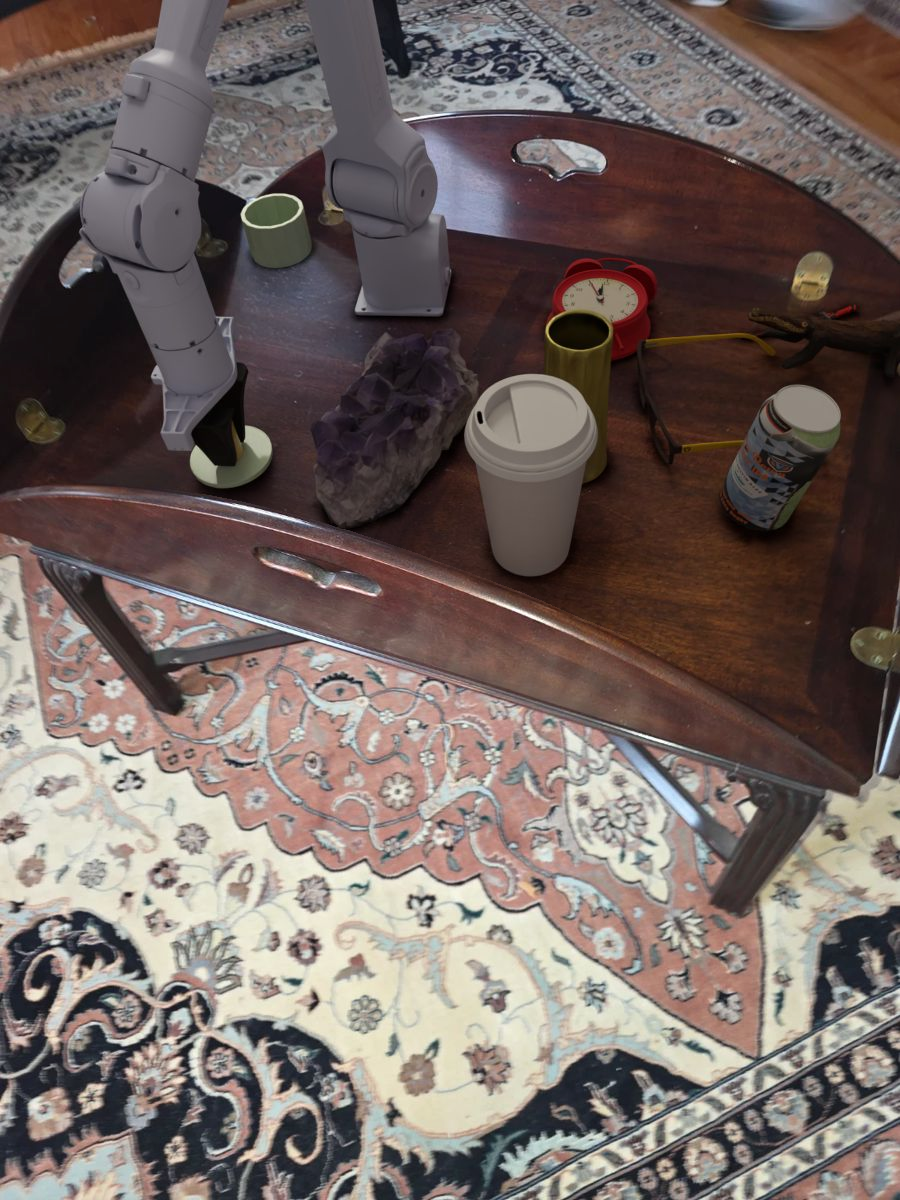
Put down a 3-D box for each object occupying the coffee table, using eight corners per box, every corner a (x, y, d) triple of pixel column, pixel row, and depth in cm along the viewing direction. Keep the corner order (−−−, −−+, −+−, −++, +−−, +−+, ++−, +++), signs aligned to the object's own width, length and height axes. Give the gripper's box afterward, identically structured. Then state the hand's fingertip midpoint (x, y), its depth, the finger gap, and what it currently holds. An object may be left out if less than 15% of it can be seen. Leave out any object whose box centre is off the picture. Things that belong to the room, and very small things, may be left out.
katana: (865, 311, 87) (863, 316, 87) (856, 301, 87) (854, 306, 88) (743, 341, 86) (742, 346, 86) (736, 330, 87) (735, 336, 87)
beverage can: (707, 489, 76) (734, 380, 66) (792, 479, 76) (831, 369, 66) (727, 545, 72) (757, 438, 62) (816, 535, 72) (861, 427, 62)
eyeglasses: (625, 372, 85) (629, 338, 82) (774, 355, 85) (783, 320, 81) (658, 479, 76) (664, 447, 73) (823, 460, 76) (837, 426, 73)
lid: (283, 434, 83) (271, 397, 79) (263, 494, 78) (249, 458, 75) (206, 431, 84) (191, 395, 80) (182, 491, 79) (165, 454, 76)
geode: (409, 553, 74) (376, 470, 66) (299, 526, 79) (256, 446, 71) (504, 393, 84) (485, 304, 76) (400, 378, 88) (372, 292, 80)
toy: (741, 370, 80) (768, 327, 76) (731, 318, 84) (756, 274, 80) (965, 414, 83) (1003, 375, 79) (945, 361, 87) (980, 321, 83)
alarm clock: (531, 333, 84) (569, 216, 89) (534, 373, 90) (570, 261, 95) (639, 348, 81) (672, 227, 86) (636, 389, 87) (667, 273, 92)
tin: (317, 233, 103) (309, 193, 99) (304, 268, 99) (294, 228, 95) (260, 232, 104) (249, 193, 100) (245, 268, 100) (233, 228, 96)
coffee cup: (490, 494, 77) (483, 358, 65) (598, 513, 75) (611, 376, 63) (459, 579, 72) (445, 448, 60) (574, 602, 70) (583, 470, 58)
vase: (602, 489, 77) (615, 358, 65) (533, 482, 78) (533, 352, 66) (609, 440, 80) (623, 307, 68) (543, 434, 81) (544, 302, 69)
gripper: (162, 271, 73) (210, 395, 84) (101, 388, 65) (163, 509, 76) (242, 272, 72) (280, 397, 84) (190, 391, 64) (240, 512, 75)
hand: (229, 451), depth 80 cm, fingers closed on lid, 2 cm apart
